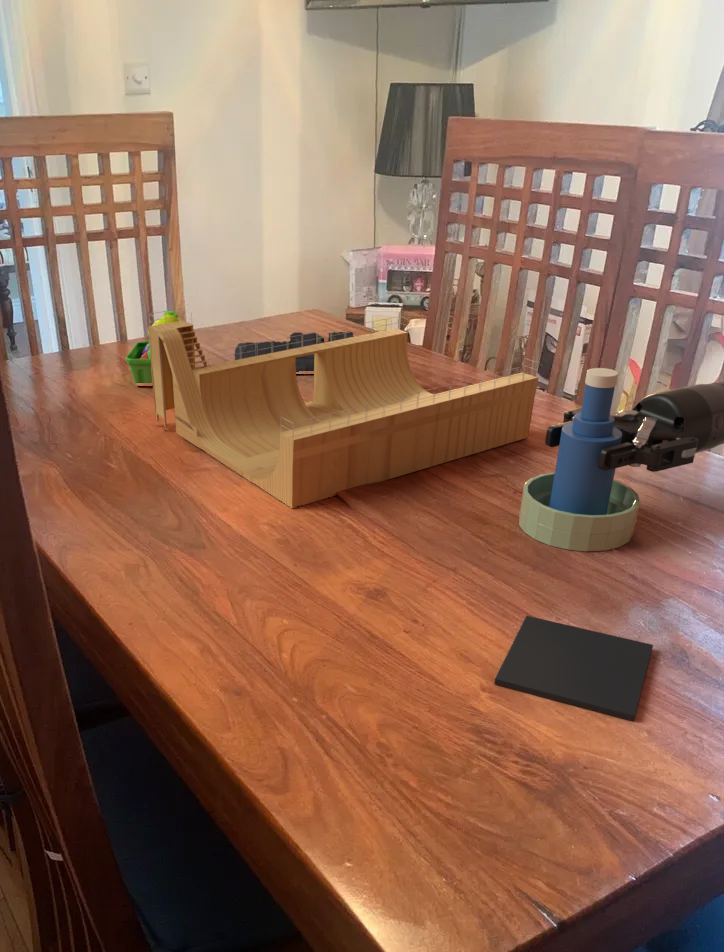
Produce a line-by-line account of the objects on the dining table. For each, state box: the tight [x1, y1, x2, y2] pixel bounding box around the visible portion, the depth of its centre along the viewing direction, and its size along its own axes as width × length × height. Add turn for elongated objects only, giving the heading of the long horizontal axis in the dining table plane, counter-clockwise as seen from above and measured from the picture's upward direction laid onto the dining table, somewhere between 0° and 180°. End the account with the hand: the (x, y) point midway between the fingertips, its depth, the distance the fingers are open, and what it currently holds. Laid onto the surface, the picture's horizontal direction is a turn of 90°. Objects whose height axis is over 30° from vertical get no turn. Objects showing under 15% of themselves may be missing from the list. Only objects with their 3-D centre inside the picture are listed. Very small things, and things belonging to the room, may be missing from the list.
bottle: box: [549, 367, 622, 515], centre depth 91 cm, size 6×6×17 cm
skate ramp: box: [148, 308, 540, 509], centre depth 119 cm, size 40×35×16 cm
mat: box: [493, 615, 654, 722], centre depth 73 cm, size 11×11×1 cm
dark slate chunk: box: [233, 330, 355, 372], centre depth 153 cm, size 15×22×5 cm
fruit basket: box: [125, 310, 182, 384], centre depth 144 cm, size 11×9×11 cm
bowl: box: [518, 471, 641, 552], centre depth 95 cm, size 12×12×4 cm
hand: (574, 448), depth 90 cm, fingers open, 7 cm apart
